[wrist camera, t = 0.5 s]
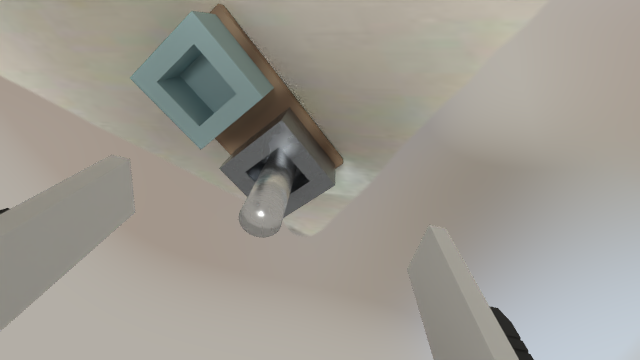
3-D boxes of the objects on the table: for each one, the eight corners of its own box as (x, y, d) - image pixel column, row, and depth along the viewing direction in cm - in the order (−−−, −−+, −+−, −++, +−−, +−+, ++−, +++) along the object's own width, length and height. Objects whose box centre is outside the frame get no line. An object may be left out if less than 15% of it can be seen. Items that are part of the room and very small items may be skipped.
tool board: (159, 71, 37) (152, 72, 35) (223, 4, 33) (218, 3, 32) (280, 200, 45) (278, 205, 44) (342, 159, 41) (343, 163, 40)
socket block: (234, 150, 40) (219, 168, 34) (289, 107, 37) (281, 120, 31) (281, 200, 43) (273, 223, 38) (335, 164, 40) (335, 185, 35)
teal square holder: (160, 70, 35) (129, 77, 30) (215, 14, 32) (191, 10, 27) (219, 133, 39) (200, 149, 33) (274, 87, 36) (263, 97, 30)
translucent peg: (263, 157, 39) (229, 216, 27) (285, 140, 38) (261, 194, 25) (282, 178, 40) (258, 243, 28) (304, 163, 39) (290, 224, 27)
